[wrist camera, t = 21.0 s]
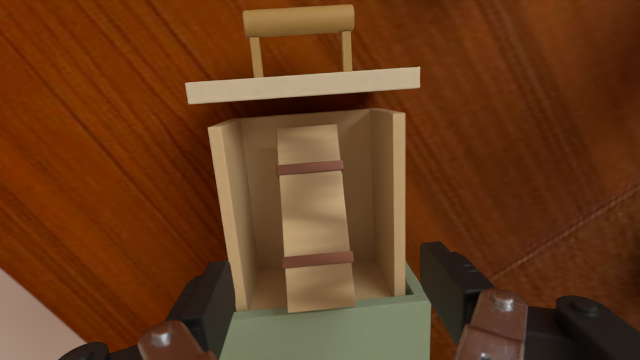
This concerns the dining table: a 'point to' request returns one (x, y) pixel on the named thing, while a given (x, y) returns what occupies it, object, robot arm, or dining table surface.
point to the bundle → (314, 219)
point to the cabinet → (336, 330)
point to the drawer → (356, 152)
